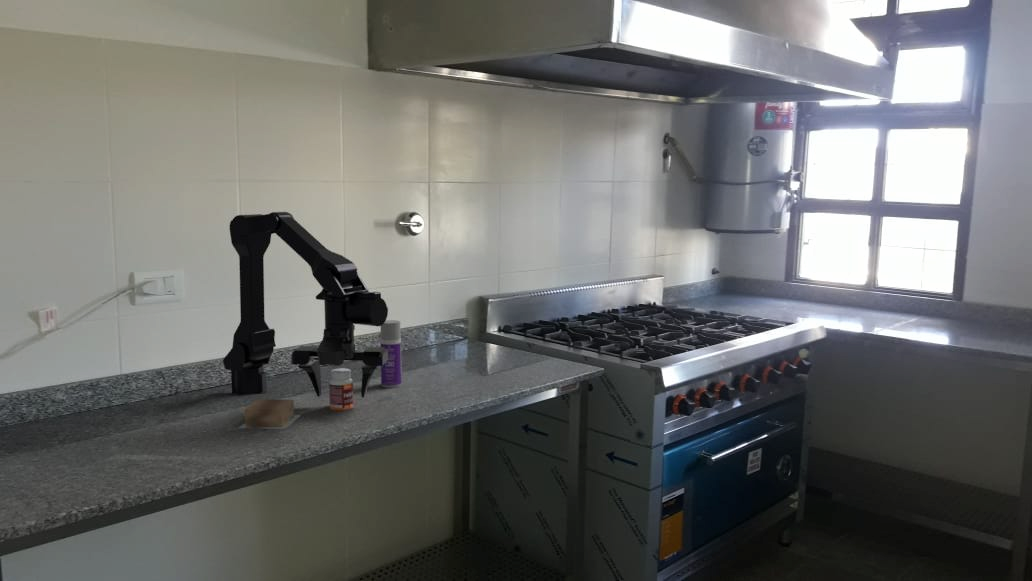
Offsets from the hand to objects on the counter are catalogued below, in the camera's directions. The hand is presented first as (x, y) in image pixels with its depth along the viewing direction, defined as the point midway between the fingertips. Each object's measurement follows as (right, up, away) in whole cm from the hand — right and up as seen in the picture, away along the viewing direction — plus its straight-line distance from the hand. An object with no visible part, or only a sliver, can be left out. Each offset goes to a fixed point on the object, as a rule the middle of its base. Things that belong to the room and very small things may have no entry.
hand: (341, 396), depth 164 cm
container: (+7, 0, +21) cm, 22 cm away
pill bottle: (0, -3, 0) cm, 3 cm away
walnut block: (-11, -3, -10) cm, 16 cm away
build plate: (-8, -4, -9) cm, 13 cm away
